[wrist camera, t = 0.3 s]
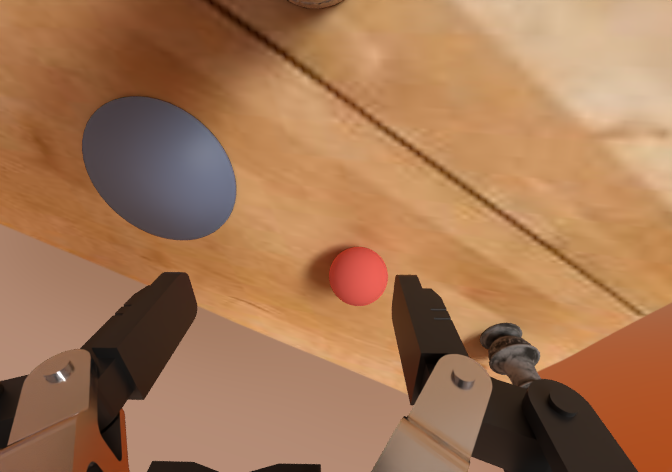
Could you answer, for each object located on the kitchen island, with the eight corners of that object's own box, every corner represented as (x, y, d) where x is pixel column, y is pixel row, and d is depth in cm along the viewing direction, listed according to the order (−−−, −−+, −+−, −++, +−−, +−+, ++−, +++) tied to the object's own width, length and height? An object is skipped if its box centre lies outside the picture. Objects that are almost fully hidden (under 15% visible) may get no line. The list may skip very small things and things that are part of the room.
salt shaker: (473, 350, 39) (519, 451, 29) (483, 321, 36) (539, 421, 26) (516, 351, 39) (577, 452, 29) (530, 321, 36) (604, 422, 26)
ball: (333, 232, 30) (331, 267, 25) (389, 239, 30) (398, 274, 25) (327, 276, 33) (324, 315, 28) (378, 282, 33) (384, 321, 28)
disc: (59, 85, 23) (57, 85, 23) (231, 108, 24) (230, 108, 24) (108, 231, 31) (107, 232, 30) (240, 246, 31) (239, 246, 31)
